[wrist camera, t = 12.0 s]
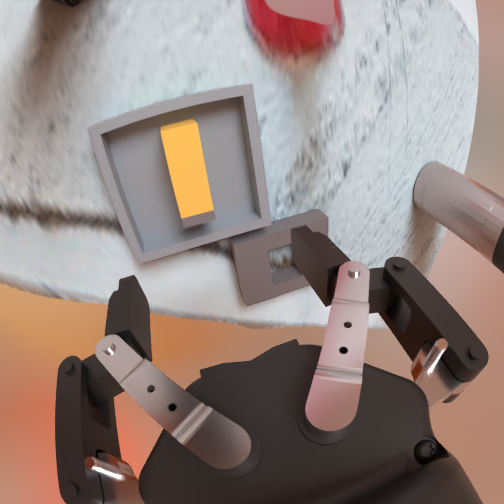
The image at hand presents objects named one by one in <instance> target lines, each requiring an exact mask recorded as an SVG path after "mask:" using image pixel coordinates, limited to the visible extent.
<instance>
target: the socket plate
mask: <svg viewBox="0 0 504 504" xmlns="http://www.w3.org/2000/svg"><path fill="white" fill-rule="evenodd" d="M302 225H307V226H308V227H309V228H310V229H311V231H312V232H316V231H318V232H320V233H322V234H324V235H326V236H327V237H328V217H327V216H326V215H325V214H324V213H323V212H321V211H320V210H319V209H316V210H312V211H309V212H305V213H301V214H298V215H294V216H291V217H287V218H283V219H280V220H276V221H273V222H271V225H269V226H265V227H262V228H258V229H255V230H251V231H248V232H244V233H241V234H237V235H234V236H231V237H229V242H230V246H231V251H232V255H233V260H234V264H235V268H236V273H237V277H238V281H239V286H240V290H241V294H242V297H243V299H244V301H245V304H246V306H250V305H253V304H256V303H259V302H262V301H265V300H268V299H271V298H274V297H277V296H280V295H283V294H286V293H288V292H291V291H294V290H297V289H300V288H303V287H305V286H308V285H310V284H309V282H308V281H307V280H306V278H305V277H304V275H303V274H302V273H301V271H300V270H299V269H298V267H297V266H296V264H295V262H294V266H291V267H288V268H285V269H282V270H279V271H276V272H273V273H271V268H270V260H269V253H268V251H269V250H272V249H276V248H279V247H282V246H285V245H289V244H291V229H292V228H295V227H299V226H302Z"/></svg>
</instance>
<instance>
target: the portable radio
mask: <svg viewBox="0 0 504 504" xmlns="http://www.w3.org/2000/svg"><path fill="white" fill-rule="evenodd" d="M53 1H56V2H59V3H61V4H64V5H67V6H69V7H74V6H75V5H78V4H79V3H80V2H81V1H82V0H53Z"/></svg>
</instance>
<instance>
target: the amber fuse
mask: <svg viewBox="0 0 504 504" xmlns="http://www.w3.org/2000/svg"><path fill="white" fill-rule="evenodd" d="M160 132H161V137H162V141H163V146H164V150H165V155H166V159H167V163H168V168H169V172H170V176H171V180H172V184H173V188H174V192H175V196H176V200H177V204H178V208H179V211H180V215H181V219H182V222H183V226H184V228H187V227H191V226H194V225H198V224H202V223H205V222H209V221H213V220H216V218H215V213H214V208H213V203H212V198H211V193H210V188H209V183H208V178H207V173H206V168H205V162H204V157H203V152H202V146H201V141H200V135H199V129H198V124H197V122H196V121H194V120H193V119H192V118H191V119H187V120H182V121H178V122H174V123H170V124H166V125H162V126H161V131H160Z"/></svg>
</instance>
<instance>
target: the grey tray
mask: <svg viewBox="0 0 504 504" xmlns="http://www.w3.org/2000/svg"><path fill="white" fill-rule="evenodd" d="M191 118H192V119H193V120H194V121H196V122H197V124H198V129H199V135H200V141H201V146H202V152H203V157H204V162H205V168H206V173H207V178H208V183H209V188H210V193H211V198H212V203H213V208H214V213H215V218H216V220H213V221H209V222H205V223H202V224H198V225H194V226H191V227H187V228H184V226H183V222H182V219H181V215H180V211H179V208H178V204H177V200H176V196H175V192H174V188H173V184H172V180H171V176H170V172H169V168H168V163H167V159H166V155H165V150H164V146H163V141H162V137H161V132H160V131H161V126H162V125H166V124H170V123H174V122H178V121H182V120H187V119H191ZM88 132H89V135H90V139H91V142H92V146H93V149H94V152H95V155H96V158H97V162H98V165H99V168H100V171H101V174H102V177H103V179H104V182H105V185H106V188H107V191H108V193H109V196H110V199H111V202H112V204H113V207H114V209H115V212H116V215H117V217H118V220H119V222H120V225H121V227H122V229H123V232H124V234H125V237H126V239H127V241H128V244H129V246H130V248H131V250H132V253H133V255H134V257H135V259H136V261H137V264H138V265H139V264H142V263H145V262H148V261H152V260H155V259H158V258H161V257H164V256H168V255H171V254H174V253H177V252H181V251H184V250H187V249H190V248H194V247H197V246H200V245H204V244H207V243H210V242H214V241H217V240H220V239H224V238H227V237H231V236H234V235H237V234H241V233H244V232H248V231H251V230H255V229H258V228H262V227H265V226H269V225H271V217H270V209H269V201H268V193H267V185H266V177H265V169H264V162H263V154H262V147H261V140H260V133H259V126H258V119H257V112H256V105H255V98H254V92H253V85H252V84H244V85H237V86H231V87H225V88H219V89H214V90H209V91H204V92H199V93H195V94H191V95H186V96H182V97H178V98H174V99H170V100H167V101H163V102H159V103H156V104H152V105H149V106H146V107H143V108H139V109H136V110H133V111H130V112H127V113H124V114H122V115H119V116H116V117H113V118H111V119H108V120H105V121H103V122H100V123H98V124H95V125H93V126H91V127H89V128H88Z"/></svg>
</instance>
